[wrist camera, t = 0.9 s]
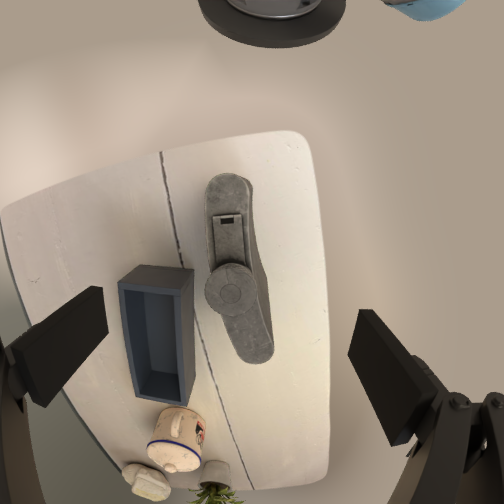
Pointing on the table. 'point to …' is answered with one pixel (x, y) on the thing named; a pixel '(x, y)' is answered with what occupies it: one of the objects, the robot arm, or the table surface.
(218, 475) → the house plant
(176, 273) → the holder
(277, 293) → the table surface
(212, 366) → the table surface
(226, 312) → the flask
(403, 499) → the robot arm
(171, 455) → the teacup with lid
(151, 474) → the fossil replica
